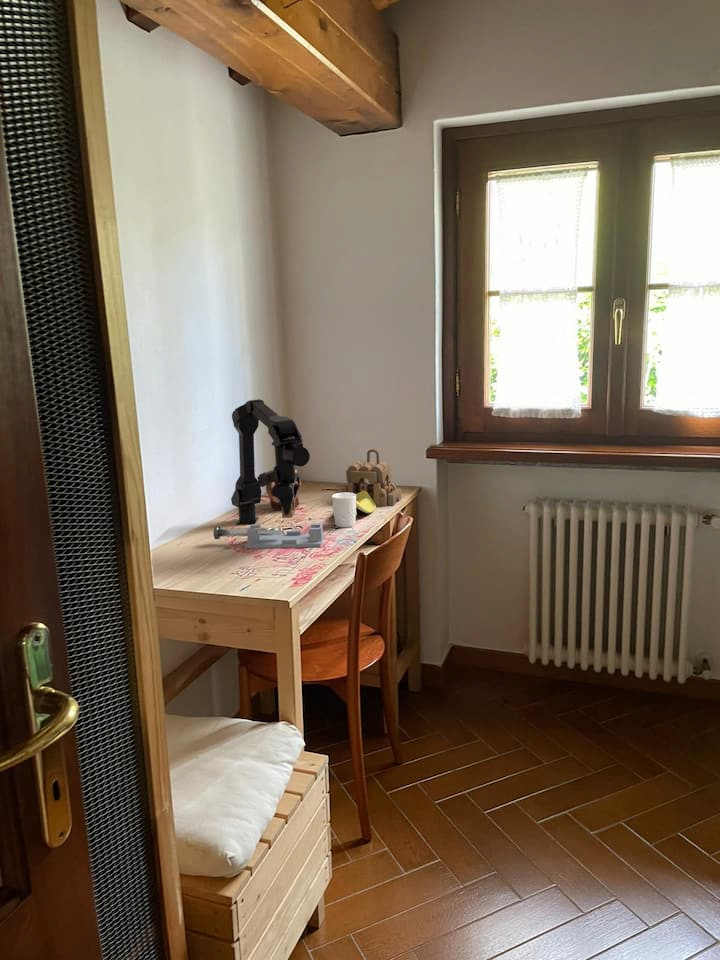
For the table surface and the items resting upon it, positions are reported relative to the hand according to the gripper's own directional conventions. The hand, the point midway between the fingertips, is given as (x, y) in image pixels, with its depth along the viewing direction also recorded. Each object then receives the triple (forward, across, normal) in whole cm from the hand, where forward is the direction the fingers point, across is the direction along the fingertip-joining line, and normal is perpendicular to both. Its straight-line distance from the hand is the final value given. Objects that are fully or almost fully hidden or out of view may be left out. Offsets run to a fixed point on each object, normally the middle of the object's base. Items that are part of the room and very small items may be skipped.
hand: (288, 511), depth 223 cm
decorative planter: (+10, -40, -8) cm, 42 cm away
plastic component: (+10, -31, +17) cm, 37 cm away
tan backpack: (+10, -48, +22) cm, 54 cm away
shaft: (+8, 0, -13) cm, 15 cm away
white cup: (+10, -18, +16) cm, 26 cm away
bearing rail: (+10, 0, -2) cm, 10 cm away
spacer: (+1, 0, 0) cm, 1 cm away
